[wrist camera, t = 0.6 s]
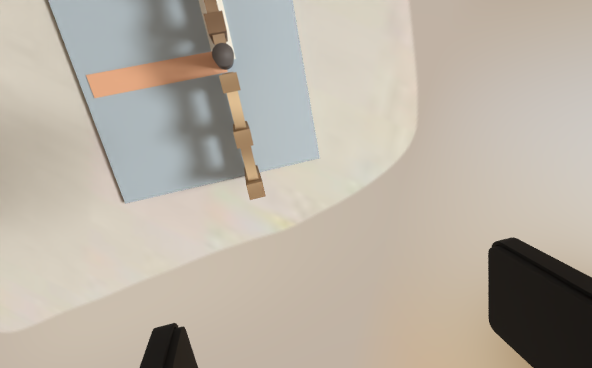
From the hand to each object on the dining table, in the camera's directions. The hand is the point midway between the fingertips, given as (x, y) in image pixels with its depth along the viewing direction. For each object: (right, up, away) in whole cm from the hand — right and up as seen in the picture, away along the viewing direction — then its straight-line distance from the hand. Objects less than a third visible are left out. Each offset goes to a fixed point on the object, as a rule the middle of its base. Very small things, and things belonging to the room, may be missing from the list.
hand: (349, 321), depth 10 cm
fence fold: (-6, +9, +19) cm, 22 cm away
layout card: (-10, +14, +18) cm, 25 cm away
